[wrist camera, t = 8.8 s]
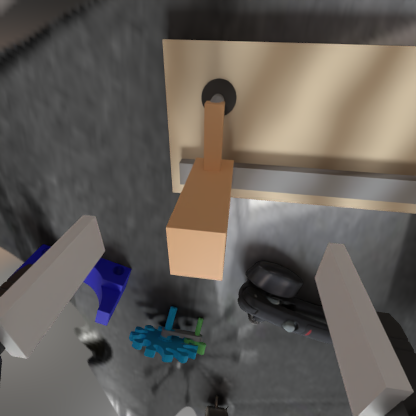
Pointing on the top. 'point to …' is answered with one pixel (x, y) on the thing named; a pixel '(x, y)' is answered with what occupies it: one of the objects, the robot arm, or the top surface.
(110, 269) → the cable clip
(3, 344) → the robot arm
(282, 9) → the top surface
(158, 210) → the top surface
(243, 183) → the plate
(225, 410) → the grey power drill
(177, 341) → the gear
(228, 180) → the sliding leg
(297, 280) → the can opener
